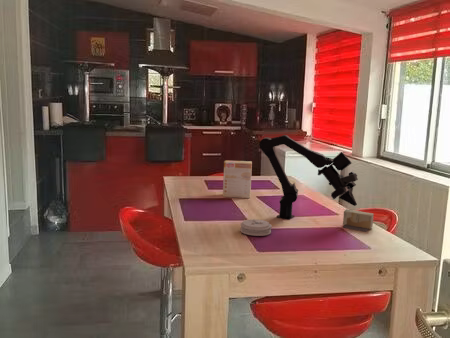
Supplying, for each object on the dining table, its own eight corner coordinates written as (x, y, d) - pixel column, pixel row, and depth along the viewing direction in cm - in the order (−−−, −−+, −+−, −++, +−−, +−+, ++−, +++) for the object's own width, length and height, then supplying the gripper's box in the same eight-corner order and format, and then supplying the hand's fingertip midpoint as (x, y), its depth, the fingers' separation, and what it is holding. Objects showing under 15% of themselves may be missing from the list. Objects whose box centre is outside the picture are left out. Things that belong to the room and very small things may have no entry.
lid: (252, 226, 194) (252, 215, 193) (276, 233, 186) (277, 221, 185) (234, 233, 184) (234, 221, 184) (259, 240, 177) (260, 227, 176)
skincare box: (343, 211, 200) (371, 215, 194) (346, 208, 203) (373, 212, 198) (342, 225, 201) (370, 229, 195) (345, 222, 205) (372, 226, 199)
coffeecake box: (250, 195, 252) (252, 161, 249) (249, 198, 245) (251, 163, 242) (223, 194, 253) (225, 159, 250) (222, 196, 246) (223, 161, 243)
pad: (366, 231, 193) (366, 230, 193) (343, 227, 198) (343, 226, 198) (371, 226, 201) (372, 225, 201) (349, 222, 206) (349, 221, 206)
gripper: (340, 168, 191) (364, 198, 187) (353, 163, 206) (375, 191, 203) (321, 184, 196) (344, 213, 192) (334, 178, 212) (356, 205, 208)
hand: (355, 205), depth 199 cm, fingers closed
